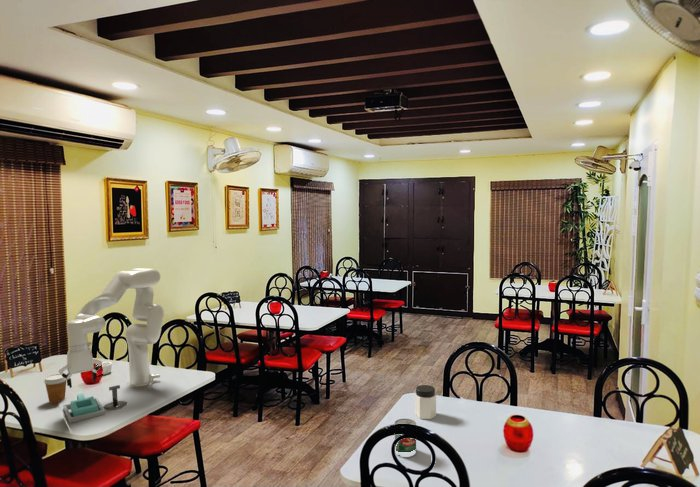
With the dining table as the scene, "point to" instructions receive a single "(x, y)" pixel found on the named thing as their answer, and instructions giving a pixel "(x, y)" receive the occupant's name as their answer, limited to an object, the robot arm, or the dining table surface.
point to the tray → (84, 416)
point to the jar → (425, 402)
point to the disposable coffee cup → (55, 388)
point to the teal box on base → (83, 405)
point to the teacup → (106, 367)
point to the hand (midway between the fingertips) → (82, 383)
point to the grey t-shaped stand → (115, 400)
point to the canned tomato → (406, 443)
